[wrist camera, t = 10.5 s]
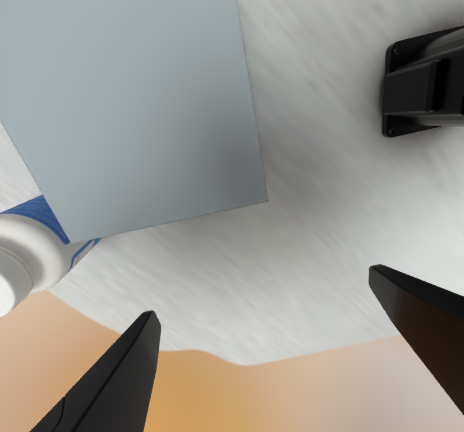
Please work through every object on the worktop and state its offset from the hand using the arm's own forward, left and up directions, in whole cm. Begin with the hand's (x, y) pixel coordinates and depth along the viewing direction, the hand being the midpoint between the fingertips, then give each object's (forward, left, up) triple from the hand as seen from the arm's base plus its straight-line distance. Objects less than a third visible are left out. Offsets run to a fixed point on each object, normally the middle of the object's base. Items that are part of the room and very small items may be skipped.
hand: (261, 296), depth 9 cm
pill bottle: (+14, -2, -12) cm, 19 cm away
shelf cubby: (+4, -9, -12) cm, 16 cm away
